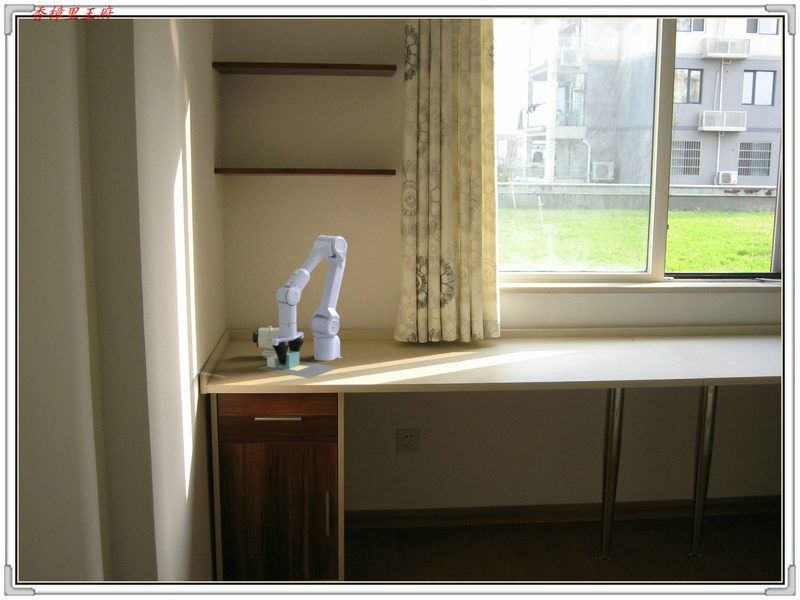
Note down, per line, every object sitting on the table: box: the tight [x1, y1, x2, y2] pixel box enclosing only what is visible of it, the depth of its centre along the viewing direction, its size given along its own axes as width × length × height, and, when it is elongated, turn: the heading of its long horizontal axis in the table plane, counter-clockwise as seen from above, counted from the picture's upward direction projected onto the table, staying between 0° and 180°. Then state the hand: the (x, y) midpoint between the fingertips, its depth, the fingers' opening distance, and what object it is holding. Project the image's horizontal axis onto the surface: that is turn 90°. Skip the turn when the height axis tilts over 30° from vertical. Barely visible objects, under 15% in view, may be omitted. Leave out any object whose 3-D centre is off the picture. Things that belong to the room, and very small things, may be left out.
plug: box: [278, 349, 300, 369], centre depth 233 cm, size 5×5×5 cm
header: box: [266, 355, 278, 368], centre depth 235 cm, size 8×6×3 cm
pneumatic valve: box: [252, 325, 288, 359], centre depth 246 cm, size 6×12×12 cm, turn 93°
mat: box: [257, 360, 340, 379], centre depth 232 cm, size 16×22×1 cm
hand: (288, 362), depth 233 cm, fingers closed on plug, 5 cm apart
